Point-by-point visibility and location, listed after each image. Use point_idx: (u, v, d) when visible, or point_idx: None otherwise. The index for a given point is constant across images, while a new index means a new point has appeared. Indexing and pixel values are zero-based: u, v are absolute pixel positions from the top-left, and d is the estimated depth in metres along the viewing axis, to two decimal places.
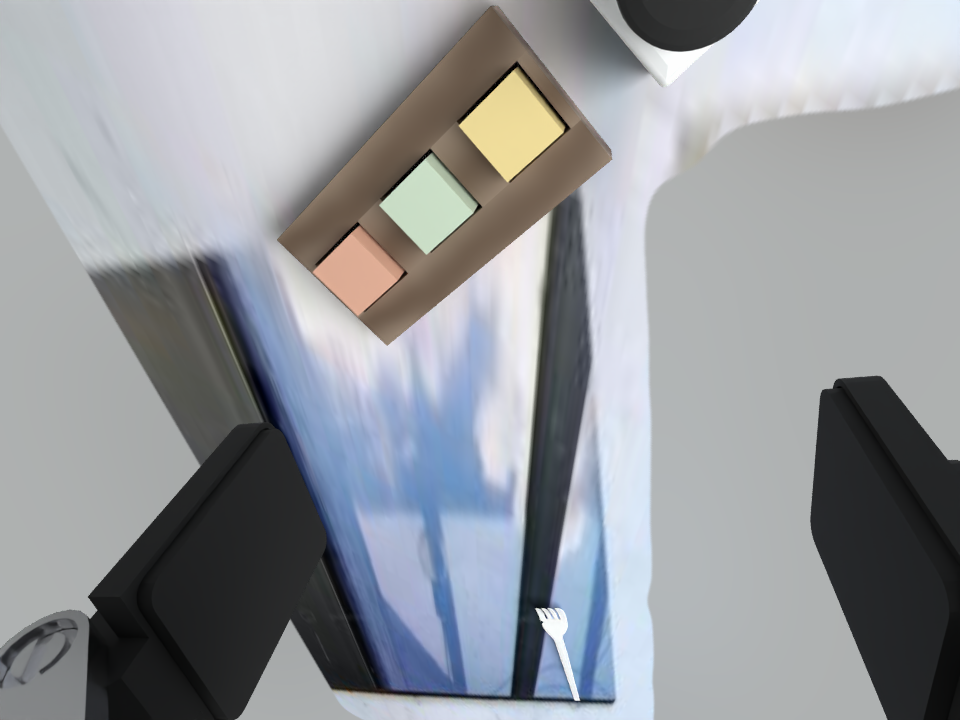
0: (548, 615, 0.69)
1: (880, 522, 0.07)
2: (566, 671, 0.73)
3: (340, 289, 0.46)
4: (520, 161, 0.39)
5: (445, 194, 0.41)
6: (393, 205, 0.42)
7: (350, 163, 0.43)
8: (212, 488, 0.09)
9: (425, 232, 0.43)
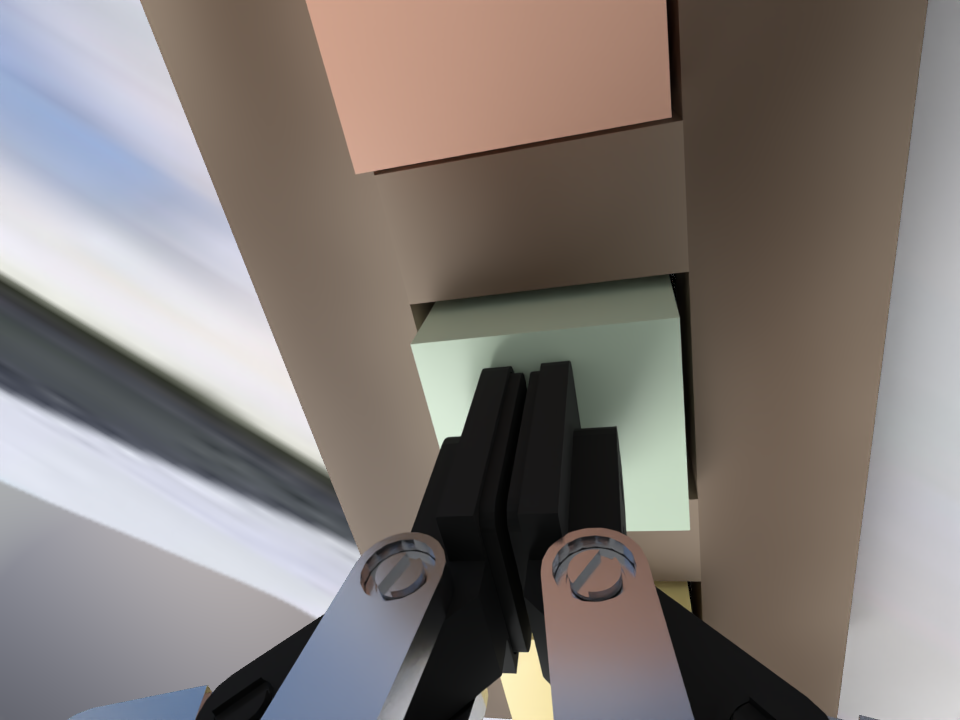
0: None
1: None
2: None
3: None
4: (517, 679, 0.15)
5: None
6: (639, 363, 0.10)
7: (882, 262, 0.10)
8: (497, 423, 0.09)
9: None
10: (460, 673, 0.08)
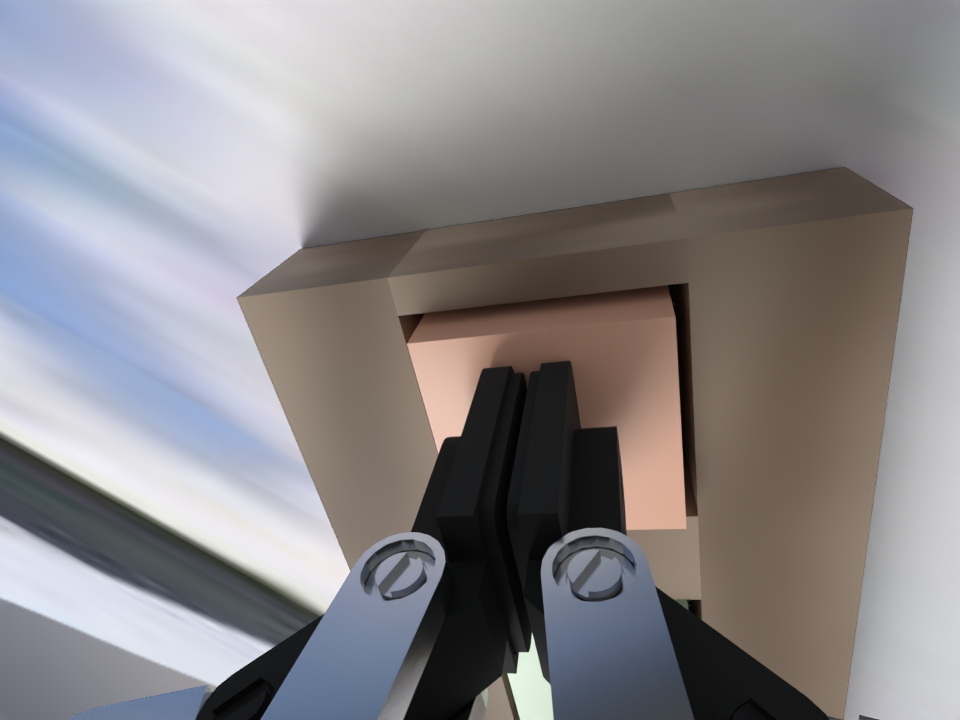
0: None
1: None
2: None
3: None
4: None
5: None
6: None
7: (849, 609, 0.13)
8: (497, 423, 0.09)
9: None
10: (460, 673, 0.08)
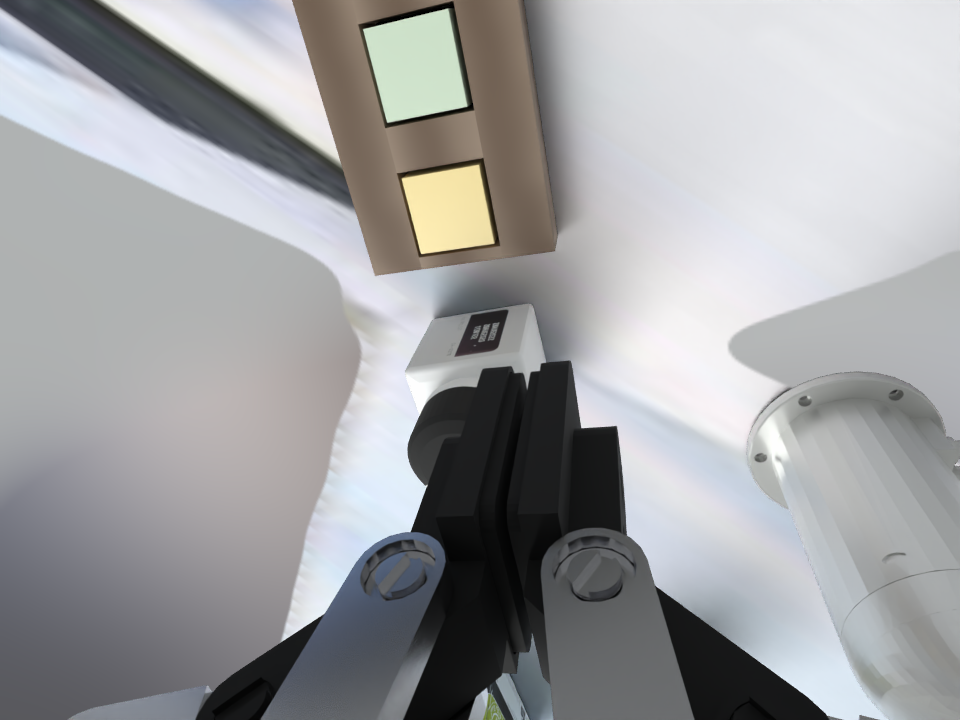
0: None
1: None
2: None
3: None
4: (415, 202, 0.36)
5: (420, 104, 0.34)
6: (438, 29, 0.32)
7: None
8: (497, 423, 0.09)
9: (389, 48, 0.32)
10: (460, 673, 0.08)
